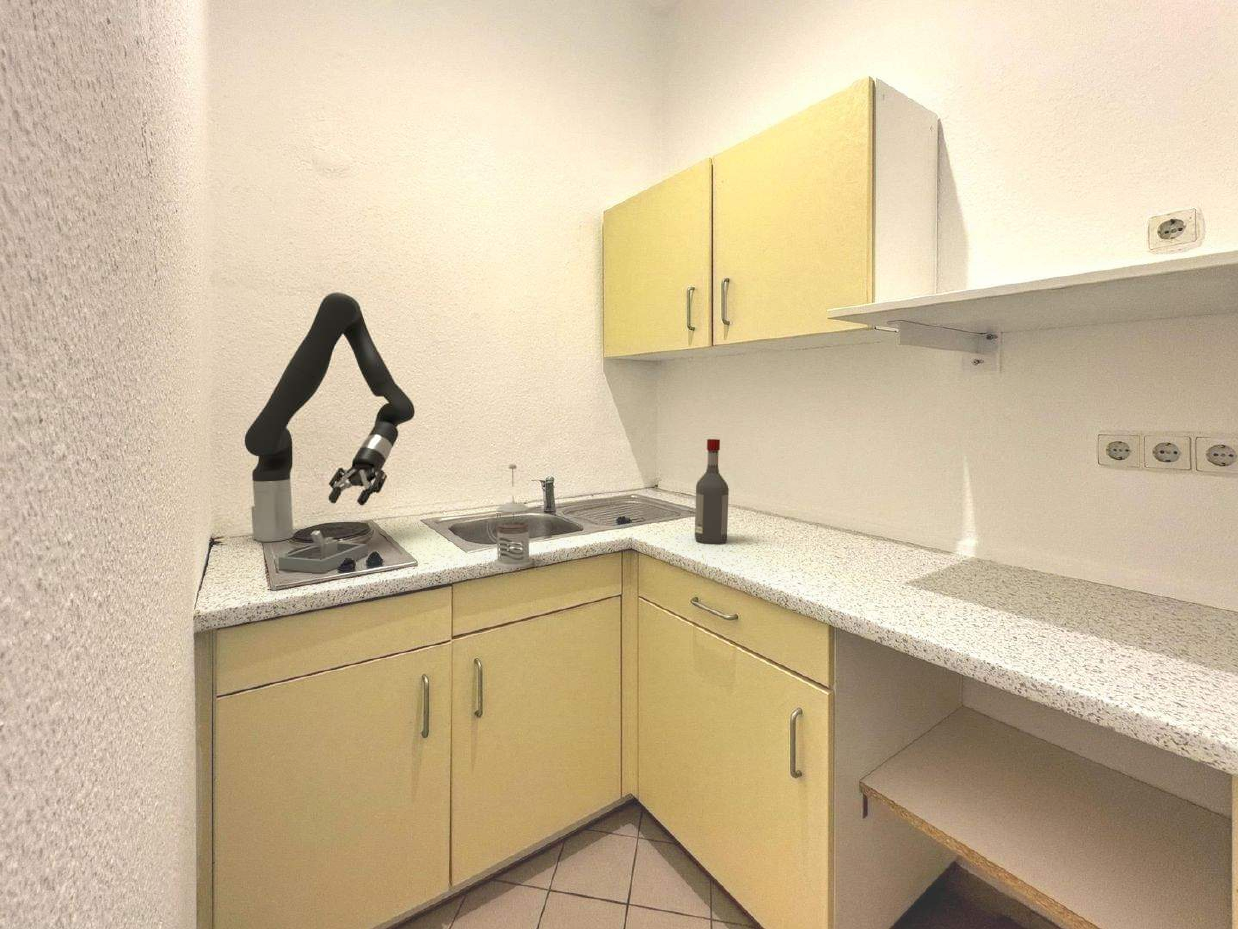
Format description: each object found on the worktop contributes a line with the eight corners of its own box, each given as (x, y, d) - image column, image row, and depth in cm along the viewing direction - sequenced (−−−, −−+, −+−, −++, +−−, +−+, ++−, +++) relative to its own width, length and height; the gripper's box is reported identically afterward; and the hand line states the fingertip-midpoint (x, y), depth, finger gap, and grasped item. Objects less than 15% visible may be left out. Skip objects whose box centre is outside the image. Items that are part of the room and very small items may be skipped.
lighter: (332, 556, 143) (330, 525, 143) (338, 556, 143) (336, 525, 142) (311, 563, 137) (310, 531, 136) (317, 564, 136) (316, 532, 135)
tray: (279, 569, 133) (278, 557, 133) (327, 552, 149) (327, 541, 148) (322, 573, 131) (322, 561, 130) (367, 555, 146) (367, 544, 146)
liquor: (724, 537, 171) (728, 438, 168) (727, 544, 162) (731, 440, 159) (694, 536, 172) (697, 438, 168) (695, 543, 163) (698, 440, 159)
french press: (525, 569, 136) (524, 466, 133) (480, 566, 138) (478, 465, 136) (538, 558, 146) (538, 462, 143) (496, 555, 148) (495, 460, 145)
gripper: (343, 445, 155) (314, 492, 145) (389, 447, 152) (362, 495, 142) (357, 462, 161) (329, 509, 151) (401, 464, 158) (376, 512, 148)
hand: (345, 502), depth 146 cm, fingers open, 8 cm apart
